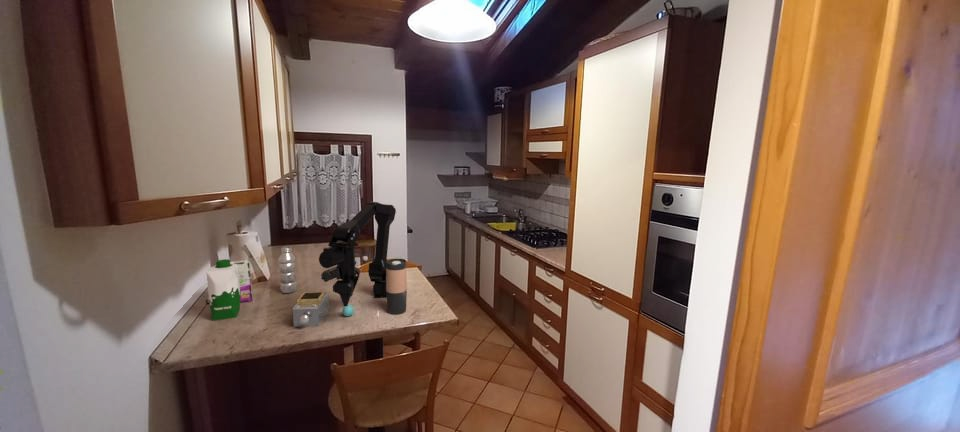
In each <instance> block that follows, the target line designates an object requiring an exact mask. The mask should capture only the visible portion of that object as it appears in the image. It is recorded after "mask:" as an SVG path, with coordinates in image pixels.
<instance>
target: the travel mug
mask: <svg viewBox="0 0 960 432" xmlns="http://www.w3.org/2000/svg"><path fill="white" fill-rule="evenodd" d="M407 275H408V274H407V260H406V259H404V258H391V259H387V261H386V294H387V297H386V307H387V309H386V310H387V313H388V314H389V315H392V316H393V315H394V316H395V315H396V316H397V315H402V314H404V313H405V312H406V311H407V295H408V294H407V290H408V287H407V286H408V285H407V284H408V282H407V277H408V276H407Z"/></svg>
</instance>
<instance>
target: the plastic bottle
mask: <svg viewBox="0 0 960 432" xmlns="http://www.w3.org/2000/svg"><path fill="white" fill-rule="evenodd" d="M280 251H281V254H280V255H279V257H278V265H279V269H280V271H279V272H280V287H279V289H280V292H282V293H283V294H290V293H294V292H296V290H298V283H297V278H296V277H297V276H296V259H297V258H296V257H295V255H294V254H293V253H292V251H293V250H292V246H288V245H287V246H283V247H281V250H280Z"/></svg>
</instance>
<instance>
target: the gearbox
mask: <svg viewBox="0 0 960 432" xmlns="http://www.w3.org/2000/svg"><path fill="white" fill-rule="evenodd" d="M329 304H330V303H329V291H325V290H323V291H311V292H310V291H307V292H303V293H302V294H301V295H300V296H299V298H298V299H297V303H296V304H295V305H294V306H293V307H292V316H293V318H292V319H293V328H306V327H319V326H320V324H321V323H322V321H323V320H324V318H325V316H326V315H327V313H328V311H329V310H330V305H329Z"/></svg>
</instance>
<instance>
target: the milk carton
mask: <svg viewBox="0 0 960 432" xmlns="http://www.w3.org/2000/svg"><path fill="white" fill-rule="evenodd" d="M230 261H231V260H230V259H228V258H227V259H226V258H225V259H218V260H216V261H215V264H216V266H215V265H212V266H211V267H210V268H209V269H208V270H207V272H206V281H207V294H208V301H209V308H210V314H211V318H212V321H213V320H214V321H218V320H219V321H220V320H226V319H233V318H237V317H238V314H239V312H240V310H241V308H240V307H241V302H240V286H239V276H238V267H237V264H230Z"/></svg>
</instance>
